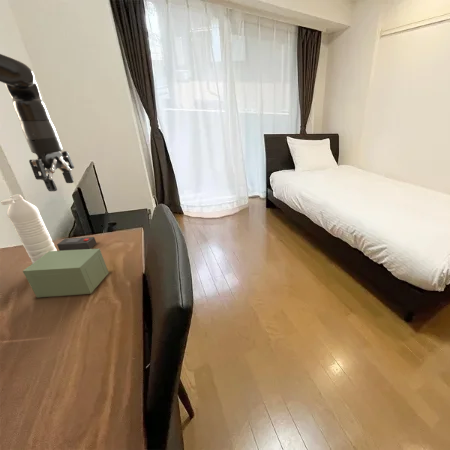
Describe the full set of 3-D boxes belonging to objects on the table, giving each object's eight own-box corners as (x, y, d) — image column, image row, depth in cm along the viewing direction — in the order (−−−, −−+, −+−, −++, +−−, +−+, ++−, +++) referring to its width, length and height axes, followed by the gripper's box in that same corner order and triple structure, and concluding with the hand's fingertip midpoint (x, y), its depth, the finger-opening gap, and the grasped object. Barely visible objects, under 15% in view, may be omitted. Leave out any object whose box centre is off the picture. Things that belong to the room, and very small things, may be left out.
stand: (36, 297, 75) (22, 271, 71) (60, 275, 84) (49, 251, 80) (90, 293, 77) (79, 267, 73) (108, 272, 86) (99, 248, 82)
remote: (59, 251, 97) (56, 243, 96) (67, 244, 101) (64, 237, 100) (89, 249, 98) (86, 242, 97) (96, 243, 102) (93, 236, 101)
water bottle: (42, 264, 90) (6, 192, 79) (65, 260, 92) (34, 190, 81) (29, 279, 82) (-12, 203, 71) (56, 275, 85) (19, 200, 74)
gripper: (45, 133, 89) (64, 180, 96) (8, 139, 76) (33, 194, 83) (70, 132, 90) (86, 180, 97) (37, 139, 77) (59, 193, 84)
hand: (62, 186), depth 90 cm, fingers open, 8 cm apart
